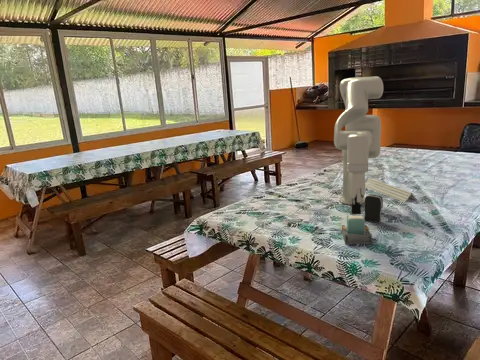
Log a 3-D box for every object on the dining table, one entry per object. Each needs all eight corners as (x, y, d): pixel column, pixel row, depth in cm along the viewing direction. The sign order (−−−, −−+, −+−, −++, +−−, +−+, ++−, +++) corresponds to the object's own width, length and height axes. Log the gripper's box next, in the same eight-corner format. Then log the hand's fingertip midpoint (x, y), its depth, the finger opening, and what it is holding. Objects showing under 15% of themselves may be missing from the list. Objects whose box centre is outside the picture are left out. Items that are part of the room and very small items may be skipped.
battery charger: (383, 220, 152) (384, 195, 149) (379, 223, 149) (380, 197, 146) (367, 217, 157) (368, 192, 154) (363, 220, 154) (364, 195, 151)
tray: (341, 232, 143) (341, 224, 142) (366, 232, 142) (366, 224, 140) (345, 243, 134) (345, 234, 133) (371, 244, 132) (371, 234, 131)
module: (346, 232, 142) (347, 214, 139) (362, 232, 141) (362, 214, 139) (348, 236, 137) (348, 219, 135) (364, 237, 136) (364, 219, 134)
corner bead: (418, 200, 174) (418, 191, 173) (403, 203, 171) (404, 194, 170) (375, 185, 202) (375, 176, 201) (362, 187, 200) (362, 179, 198)
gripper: (344, 162, 139) (343, 206, 144) (349, 172, 125) (348, 220, 130) (364, 162, 138) (362, 206, 143) (372, 171, 124) (370, 220, 128)
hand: (356, 213), depth 136 cm, fingers closed
